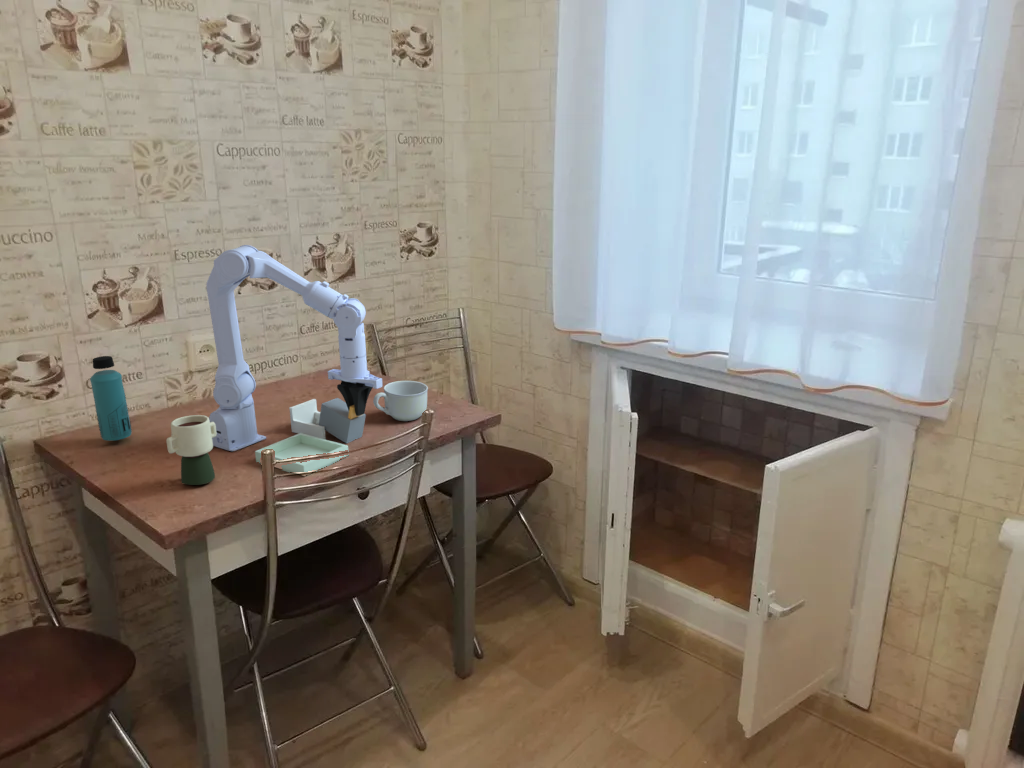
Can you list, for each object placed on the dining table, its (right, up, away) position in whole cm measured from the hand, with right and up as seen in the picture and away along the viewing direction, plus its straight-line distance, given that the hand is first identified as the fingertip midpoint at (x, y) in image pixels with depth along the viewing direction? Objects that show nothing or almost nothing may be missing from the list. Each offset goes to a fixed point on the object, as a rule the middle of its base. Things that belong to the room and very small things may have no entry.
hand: (357, 413), depth 165 cm
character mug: (-28, -13, -19) cm, 36 cm away
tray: (-10, -9, -8) cm, 16 cm away
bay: (-10, -4, +8) cm, 14 cm away
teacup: (+7, -2, +17) cm, 18 cm away
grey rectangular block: (-5, -4, +5) cm, 8 cm away
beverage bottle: (-55, -7, +3) cm, 56 cm away
